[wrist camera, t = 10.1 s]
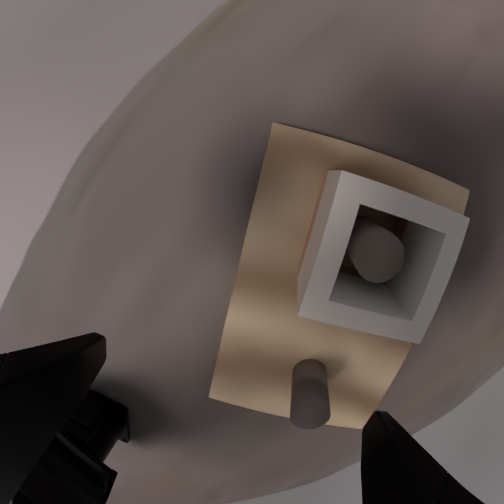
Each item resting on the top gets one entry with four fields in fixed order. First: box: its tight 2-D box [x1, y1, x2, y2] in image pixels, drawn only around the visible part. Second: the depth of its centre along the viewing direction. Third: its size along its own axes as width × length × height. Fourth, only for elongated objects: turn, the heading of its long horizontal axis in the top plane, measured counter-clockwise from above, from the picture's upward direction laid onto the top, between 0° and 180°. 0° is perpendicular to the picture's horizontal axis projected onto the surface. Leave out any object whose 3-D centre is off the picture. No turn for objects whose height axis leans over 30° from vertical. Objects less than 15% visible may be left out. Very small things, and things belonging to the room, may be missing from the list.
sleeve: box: [297, 170, 470, 344], centre depth 14 cm, size 6×6×6 cm
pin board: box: [209, 123, 470, 429], centre depth 17 cm, size 20×13×6 cm, turn 167°
